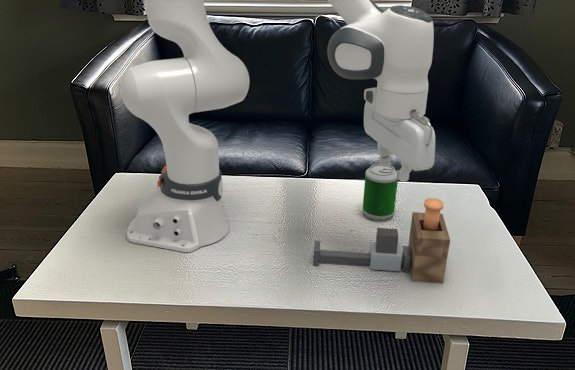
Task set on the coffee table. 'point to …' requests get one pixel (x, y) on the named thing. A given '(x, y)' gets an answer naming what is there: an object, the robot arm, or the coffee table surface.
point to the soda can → (380, 192)
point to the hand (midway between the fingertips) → (393, 172)
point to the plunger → (432, 214)
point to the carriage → (386, 250)
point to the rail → (353, 257)
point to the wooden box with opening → (428, 250)
